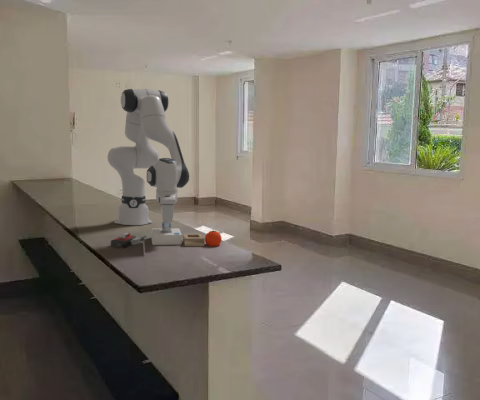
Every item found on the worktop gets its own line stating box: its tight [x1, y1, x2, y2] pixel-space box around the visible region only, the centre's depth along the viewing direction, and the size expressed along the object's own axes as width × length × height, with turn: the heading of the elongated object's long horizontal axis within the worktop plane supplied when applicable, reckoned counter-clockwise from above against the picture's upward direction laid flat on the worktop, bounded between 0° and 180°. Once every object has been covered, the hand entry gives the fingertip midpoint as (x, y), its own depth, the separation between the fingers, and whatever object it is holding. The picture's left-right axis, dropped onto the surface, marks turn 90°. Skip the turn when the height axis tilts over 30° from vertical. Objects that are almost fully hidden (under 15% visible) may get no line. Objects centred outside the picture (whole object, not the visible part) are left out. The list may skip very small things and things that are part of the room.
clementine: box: [204, 229, 222, 247], centre depth 205 cm, size 8×7×7 cm
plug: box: [161, 221, 172, 233], centre depth 208 cm, size 4×4×7 cm
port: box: [150, 227, 183, 246], centre depth 209 cm, size 14×12×5 cm
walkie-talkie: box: [110, 232, 147, 249], centre depth 207 cm, size 9×4×20 cm
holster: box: [182, 233, 205, 247], centre depth 206 cm, size 10×8×4 cm
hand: (166, 229), depth 208 cm, fingers closed on plug, 3 cm apart
